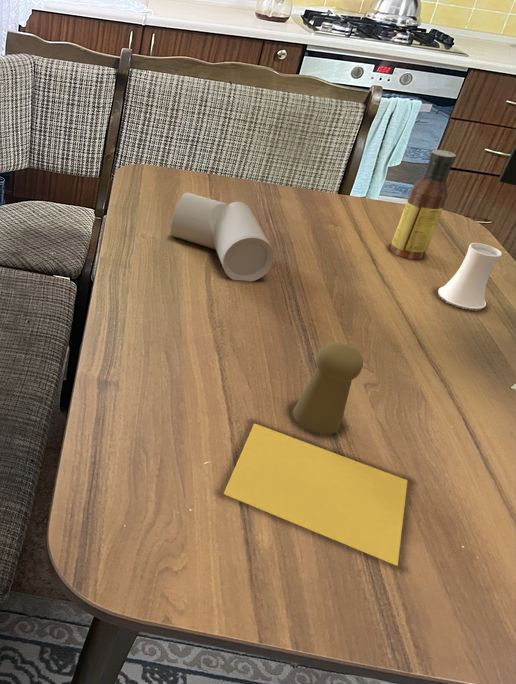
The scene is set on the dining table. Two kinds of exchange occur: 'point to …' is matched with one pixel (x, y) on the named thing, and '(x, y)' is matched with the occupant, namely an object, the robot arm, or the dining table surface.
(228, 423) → the dining table surface
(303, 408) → the cork
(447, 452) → the dining table surface
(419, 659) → the dining table surface
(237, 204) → the bent grey cylinder
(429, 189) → the sauce bottle
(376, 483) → the yellow cloth
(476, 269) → the vase
